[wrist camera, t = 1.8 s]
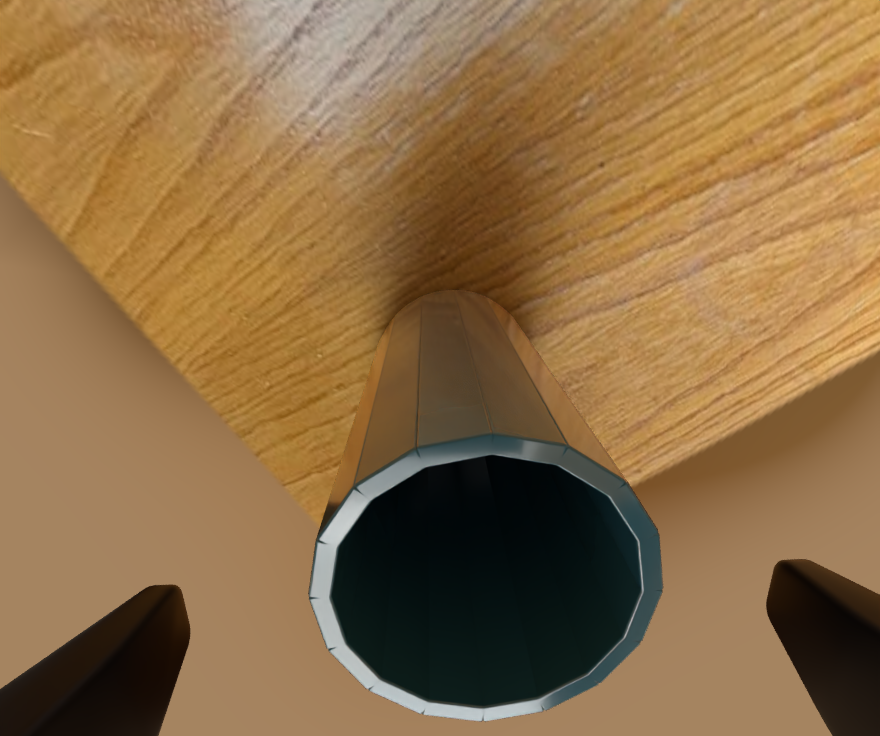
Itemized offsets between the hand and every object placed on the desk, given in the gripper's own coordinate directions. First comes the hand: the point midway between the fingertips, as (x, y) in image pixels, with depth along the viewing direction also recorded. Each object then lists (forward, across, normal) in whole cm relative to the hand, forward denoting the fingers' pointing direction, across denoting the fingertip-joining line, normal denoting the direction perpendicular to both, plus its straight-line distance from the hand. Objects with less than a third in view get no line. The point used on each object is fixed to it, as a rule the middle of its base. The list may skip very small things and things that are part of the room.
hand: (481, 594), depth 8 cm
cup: (+11, 0, 0) cm, 11 cm away
